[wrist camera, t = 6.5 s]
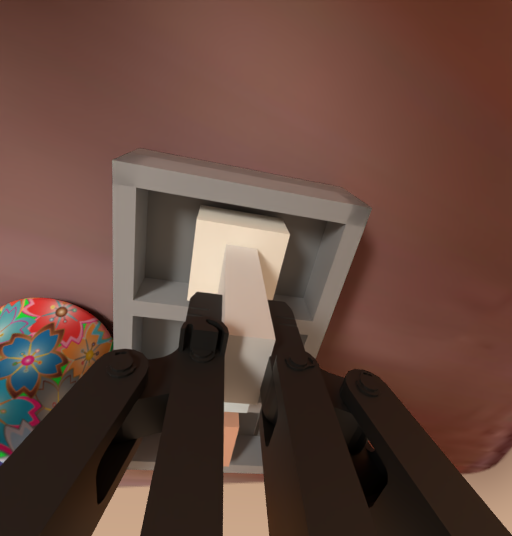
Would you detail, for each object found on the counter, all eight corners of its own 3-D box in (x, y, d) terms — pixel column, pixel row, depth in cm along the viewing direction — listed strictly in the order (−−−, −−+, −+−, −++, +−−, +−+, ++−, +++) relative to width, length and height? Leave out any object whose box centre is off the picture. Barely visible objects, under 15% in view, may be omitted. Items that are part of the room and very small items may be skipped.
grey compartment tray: (139, 147, 17) (112, 159, 13) (341, 187, 19) (371, 208, 15) (131, 414, 27) (114, 468, 23) (266, 423, 29) (272, 474, 25)
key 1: (177, 393, 22) (172, 423, 20) (238, 397, 23) (239, 427, 21) (172, 432, 24) (167, 464, 22) (228, 435, 25) (228, 466, 23)
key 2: (200, 204, 16) (196, 219, 14) (282, 218, 17) (289, 234, 15) (191, 277, 18) (186, 300, 16) (265, 287, 19) (270, 310, 17)
